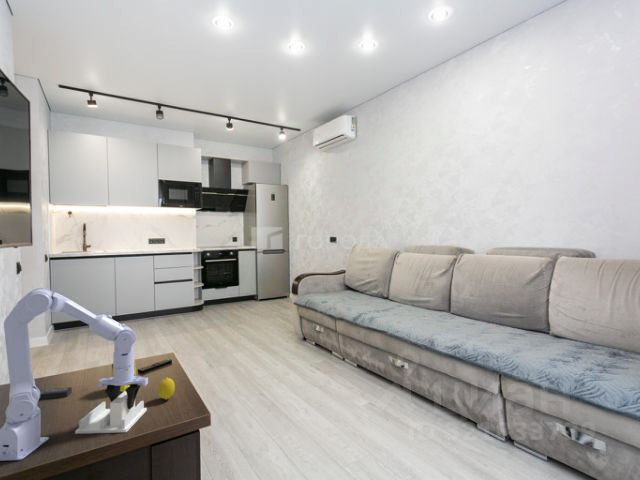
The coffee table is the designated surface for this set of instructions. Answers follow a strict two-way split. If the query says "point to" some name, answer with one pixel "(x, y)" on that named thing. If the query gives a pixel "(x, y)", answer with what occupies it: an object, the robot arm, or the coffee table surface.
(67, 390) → the multiport hub
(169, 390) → the lemon
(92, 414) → the dish rack
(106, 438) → the coffee table surface
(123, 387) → the supplement box
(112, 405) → the cream rectangular prism
